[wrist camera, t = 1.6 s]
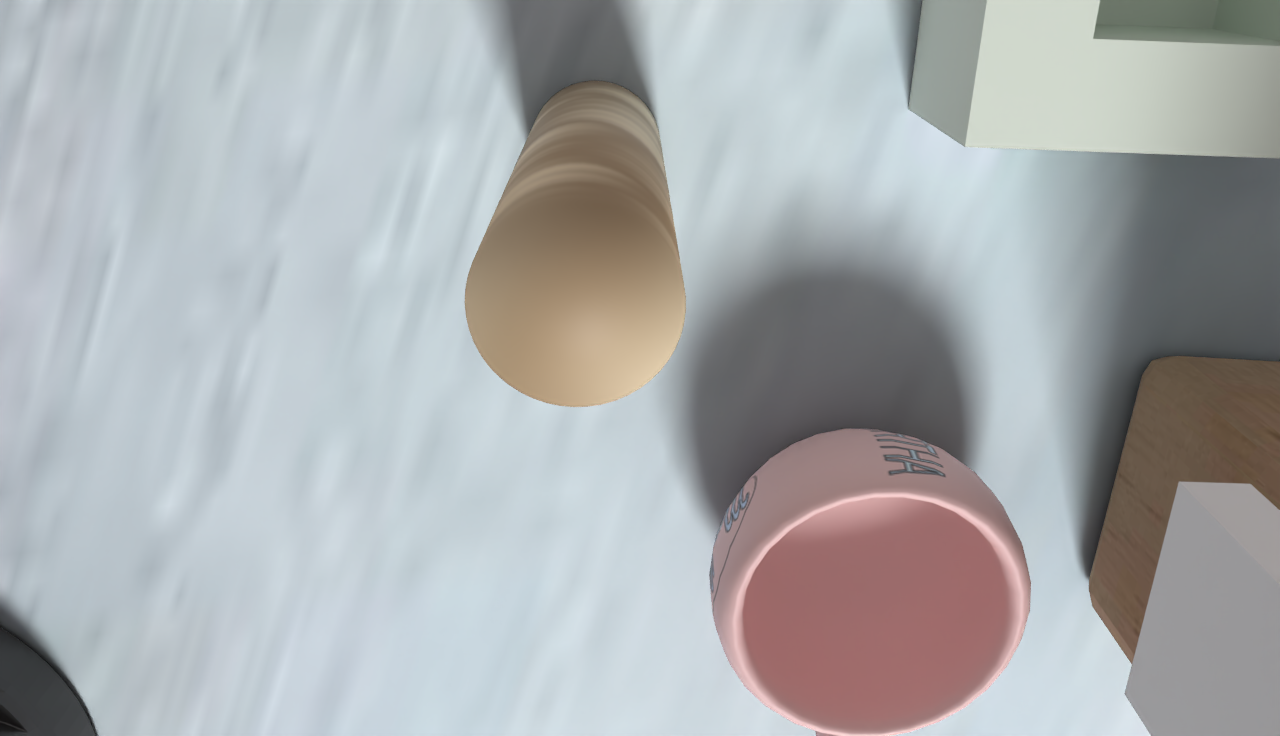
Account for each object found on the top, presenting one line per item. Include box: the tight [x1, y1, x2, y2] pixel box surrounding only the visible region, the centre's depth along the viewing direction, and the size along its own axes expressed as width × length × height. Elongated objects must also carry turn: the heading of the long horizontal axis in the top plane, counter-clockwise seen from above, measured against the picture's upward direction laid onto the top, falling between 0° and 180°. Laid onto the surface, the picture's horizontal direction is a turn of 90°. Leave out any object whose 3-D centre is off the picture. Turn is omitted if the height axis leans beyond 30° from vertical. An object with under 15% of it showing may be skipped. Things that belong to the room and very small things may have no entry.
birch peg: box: [465, 81, 686, 407], centre depth 27 cm, size 4×4×15 cm
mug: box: [709, 429, 1031, 736], centre depth 37 cm, size 12×10×6 cm
